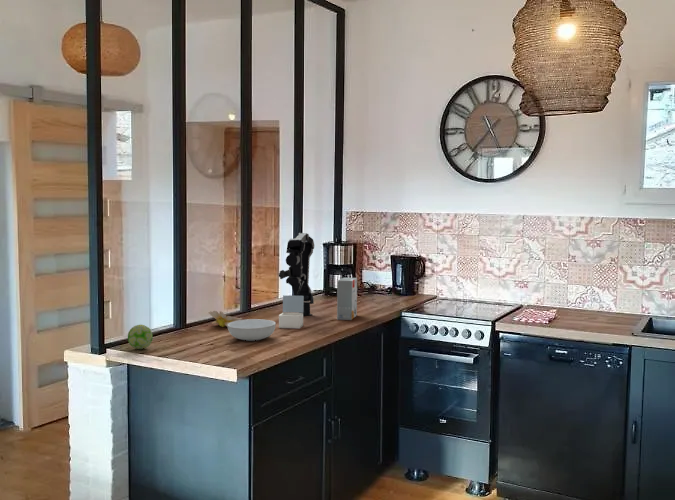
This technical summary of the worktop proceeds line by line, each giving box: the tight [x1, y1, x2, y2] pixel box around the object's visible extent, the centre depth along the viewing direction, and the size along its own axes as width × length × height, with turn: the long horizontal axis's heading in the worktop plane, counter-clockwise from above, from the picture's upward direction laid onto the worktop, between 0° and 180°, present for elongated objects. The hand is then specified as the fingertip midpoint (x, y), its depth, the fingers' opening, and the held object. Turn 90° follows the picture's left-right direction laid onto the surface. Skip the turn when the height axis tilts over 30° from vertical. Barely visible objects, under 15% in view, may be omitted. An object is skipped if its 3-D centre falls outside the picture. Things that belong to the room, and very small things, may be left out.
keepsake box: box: [278, 312, 304, 329], centre depth 325 cm, size 8×10×6 cm
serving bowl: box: [226, 318, 277, 342], centre depth 298 cm, size 21×21×7 cm
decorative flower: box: [208, 310, 243, 328], centre depth 327 cm, size 15×11×10 cm
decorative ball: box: [127, 324, 153, 350], centre depth 278 cm, size 10×10×10 cm
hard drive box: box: [336, 277, 358, 321], centre depth 349 cm, size 16×8×20 cm, turn 168°
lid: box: [282, 294, 304, 313], centre depth 330 cm, size 8×10×1 cm
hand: (296, 295), depth 336 cm, fingers open, 3 cm apart
